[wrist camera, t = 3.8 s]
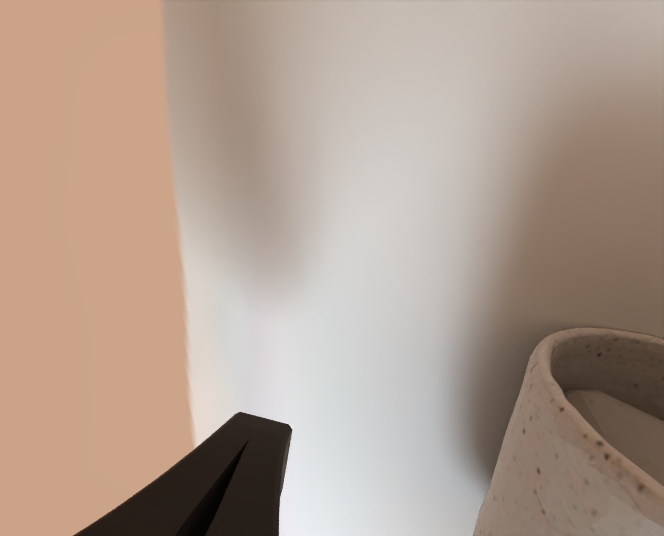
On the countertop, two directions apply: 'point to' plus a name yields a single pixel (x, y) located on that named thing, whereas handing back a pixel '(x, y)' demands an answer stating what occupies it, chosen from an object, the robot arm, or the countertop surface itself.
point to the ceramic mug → (583, 441)
